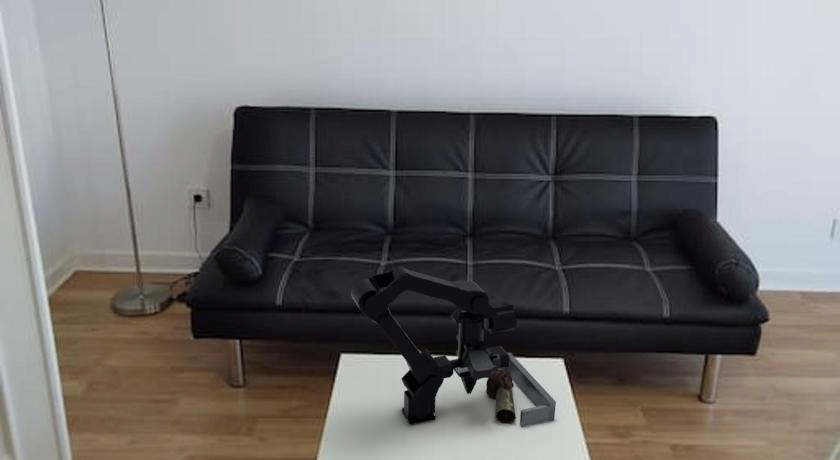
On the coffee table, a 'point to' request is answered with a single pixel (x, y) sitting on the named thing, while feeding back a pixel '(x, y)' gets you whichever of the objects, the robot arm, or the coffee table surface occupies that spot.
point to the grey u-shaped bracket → (531, 395)
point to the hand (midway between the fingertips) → (468, 393)
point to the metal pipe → (502, 395)
